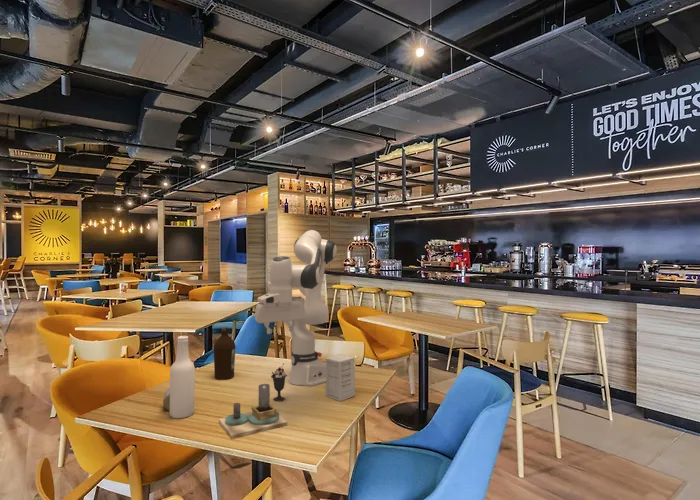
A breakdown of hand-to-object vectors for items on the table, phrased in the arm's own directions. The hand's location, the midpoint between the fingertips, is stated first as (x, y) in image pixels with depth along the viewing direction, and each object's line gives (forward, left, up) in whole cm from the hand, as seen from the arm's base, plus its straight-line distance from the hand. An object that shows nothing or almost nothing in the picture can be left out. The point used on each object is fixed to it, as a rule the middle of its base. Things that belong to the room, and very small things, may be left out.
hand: (280, 332), depth 156 cm
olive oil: (+6, -57, -31) cm, 65 cm away
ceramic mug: (+33, -27, -31) cm, 53 cm away
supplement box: (-29, -2, -31) cm, 43 cm away
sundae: (-5, -13, -31) cm, 34 cm away
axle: (+9, +6, -29) cm, 31 cm away
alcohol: (+33, -18, -31) cm, 49 cm away
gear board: (+13, +5, -31) cm, 34 cm away
